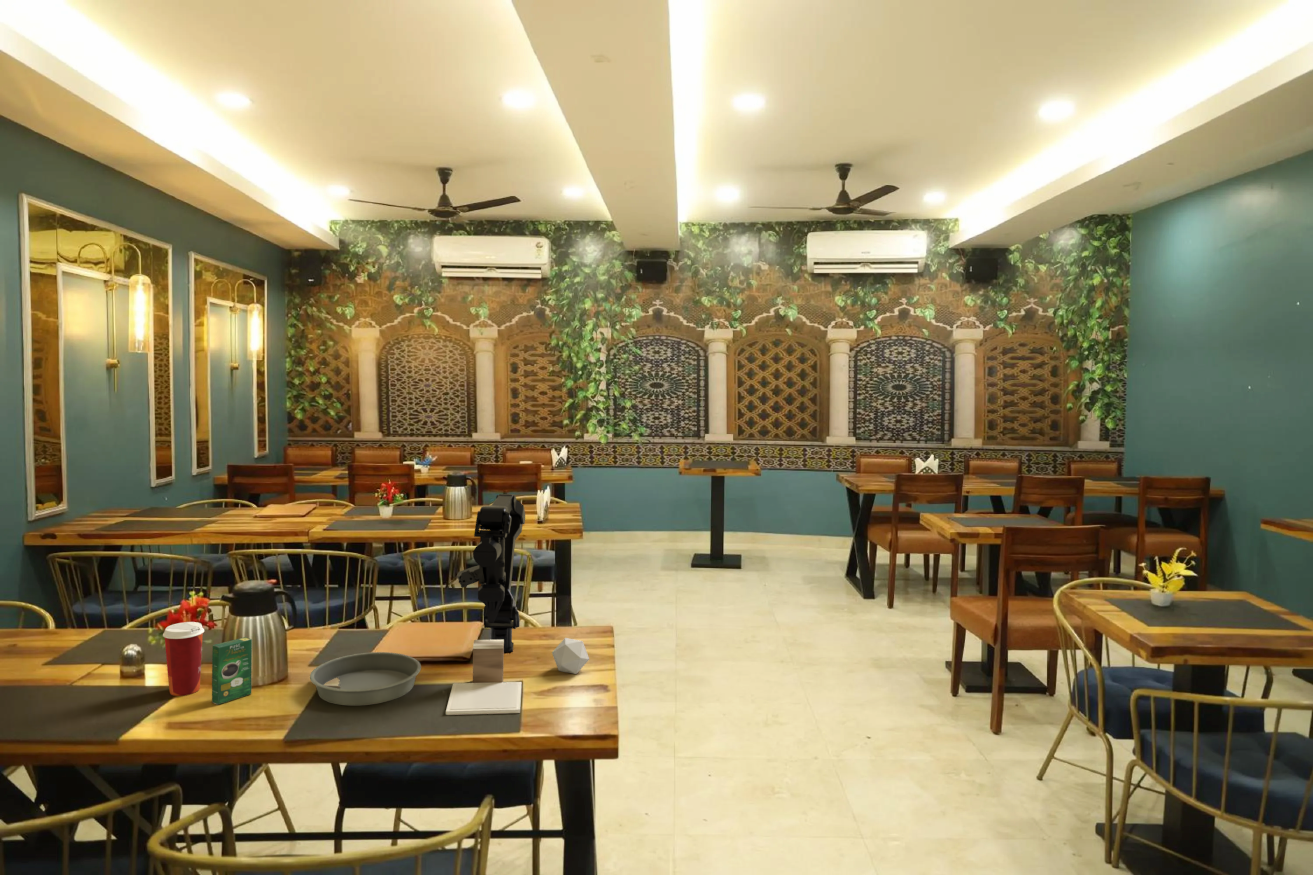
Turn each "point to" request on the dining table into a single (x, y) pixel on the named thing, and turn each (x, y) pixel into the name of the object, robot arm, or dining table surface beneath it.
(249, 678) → the coffee box
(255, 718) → the dining table surface
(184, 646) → the coffee cup
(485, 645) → the walnut block
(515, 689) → the shallow cream tray
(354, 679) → the cake pan
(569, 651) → the die
